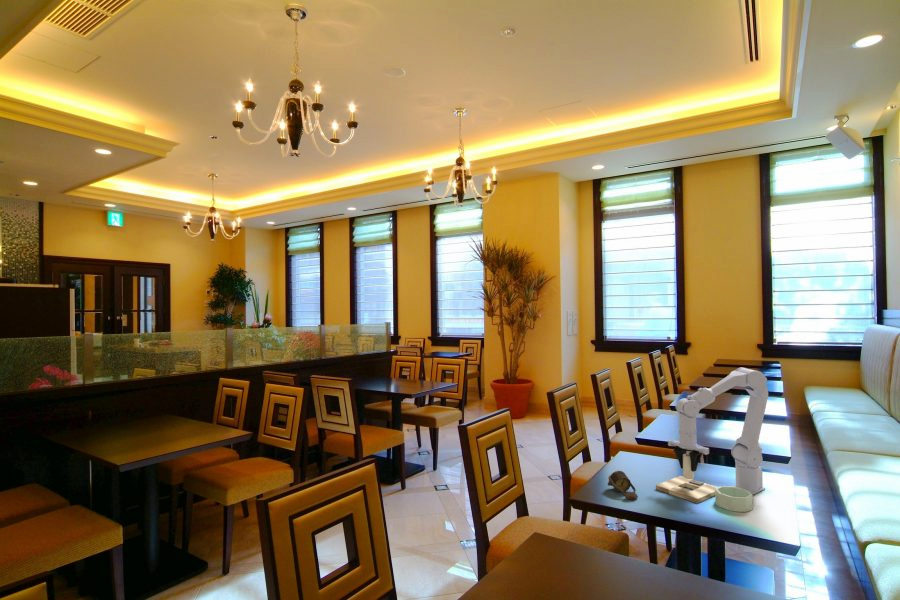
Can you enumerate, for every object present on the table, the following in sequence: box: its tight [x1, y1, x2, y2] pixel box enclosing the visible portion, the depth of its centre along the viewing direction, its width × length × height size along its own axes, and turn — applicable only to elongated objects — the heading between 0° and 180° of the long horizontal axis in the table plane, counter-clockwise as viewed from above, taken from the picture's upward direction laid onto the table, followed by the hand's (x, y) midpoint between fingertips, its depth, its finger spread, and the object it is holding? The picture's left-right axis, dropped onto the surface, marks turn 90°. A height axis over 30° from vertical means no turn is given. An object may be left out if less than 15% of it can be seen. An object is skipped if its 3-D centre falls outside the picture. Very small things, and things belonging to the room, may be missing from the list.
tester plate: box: [655, 475, 719, 504], centre depth 185 cm, size 16×16×2 cm
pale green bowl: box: [714, 485, 753, 513], centre depth 172 cm, size 11×11×4 cm
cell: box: [682, 452, 695, 480], centre depth 185 cm, size 4×4×9 cm
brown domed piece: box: [607, 470, 639, 501], centre depth 183 cm, size 7×13×10 cm
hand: (688, 469), depth 185 cm, fingers closed on cell, 4 cm apart
